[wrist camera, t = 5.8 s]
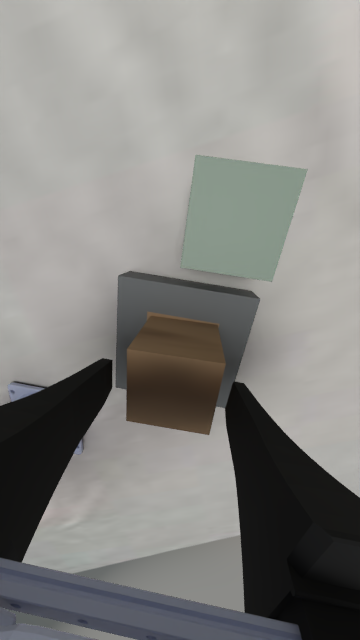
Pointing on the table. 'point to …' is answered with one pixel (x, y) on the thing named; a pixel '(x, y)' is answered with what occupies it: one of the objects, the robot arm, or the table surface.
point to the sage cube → (239, 216)
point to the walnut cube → (174, 374)
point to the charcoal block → (184, 316)
